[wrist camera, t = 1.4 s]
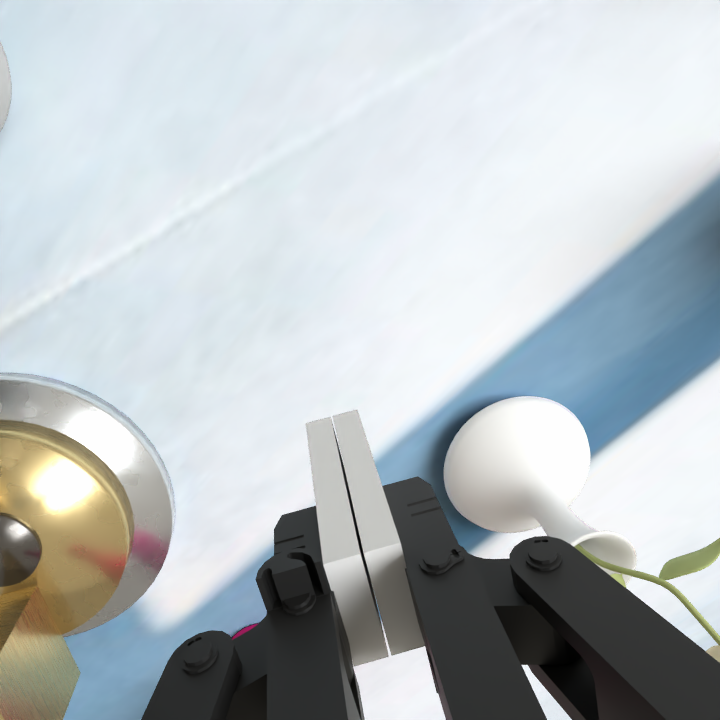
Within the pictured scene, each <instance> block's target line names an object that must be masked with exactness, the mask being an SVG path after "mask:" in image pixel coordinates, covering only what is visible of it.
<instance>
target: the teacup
mask: <svg viewBox="0 0 720 720" xmlns="http://www.w3.org/2000/svg"><path fill="white" fill-rule="evenodd" d="M10 103H11V76H10V70H9V65H8V61H7V57H6V54H5V52H4V49H3V46H2V44H1V42H0V131H1V130H2V128H3V126H4V123H5V121H6V118H7V116H8V112H9V108H10Z"/></svg>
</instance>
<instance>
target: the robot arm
mask: <svg viewBox="0 0 720 720" xmlns="http://www.w3.org/2000/svg"><path fill="white" fill-rule="evenodd" d="M333 420H334V424H335V429H336V433H337V438H338V442H339V446H338V443H337V439H336V435H335V432H334V428H333V424H332V421H331V417H327V418H324V419H320V420H316V421H312V422H309V423H306V429H307V437H308V445H309V453H310V462H311V470H312V478H313V486H314V494H315V502H316V506H314V507H310V508H306V509H303V510H299V511H295V512H292V513H288V514H284V515H282V516H281V518H280V520H279V521H278V523H277V525H276V527H275V529H274V544H275V545H274V556H273V557H271V558H270V559H269V560H267V561H266V562H265V563H264V564H263V565H262V567H261V568H260V569H259V570H258V573H257V577H256V582H257V585H258V587H259V590H260V593H261V596H262V599H263V601H264V604H265V607H266V610H267V615H266V617H265V618H264V619H263V620H262V621H261V622H260V623H259V624H257V625H256V626H255V627H253V628H252V629H250V630H249V631H247V632H245V633H243V634H242V635H240V636H238V637H236V638H234V639H233V640H232V639H231V637H230V636H229V635H228V634H226V633H224V632H223V631H212V630H211V631H207V632H203V633H199V634H197V635H195V636H193V637H192V638H190V639H188V640H186V641H185V642H184V643H183V644H182V645H180V646H179V647H178V648H177V649H176V650H175V651H174V653H173V654H172V656H171V657H170V659H169V660H168V662H167V665H166V667H165V669H164V671H163V673H162V676H161V678H160V680H159V682H158V684H157V686H156V689H155V691H154V693H153V695H152V697H151V699H150V702H149V704H148V706H147V708H146V710H145V712H144V715H143V717H142V719H141V720H364V714H363V708H362V702H361V696H360V691H359V686H358V683H357V679H356V676H355V673H354V669H353V664H354V666H357V665H361V664H364V663H368V662H371V661H375V660H378V659H381V658H385V657H388V651H387V647H386V643H385V638H384V634H383V630H382V625H381V621H380V617H379V612H378V608H377V604H378V607H379V611H380V615H381V618H382V622H383V626H384V629H385V633H386V637H387V640H388V644H389V648H390V651H391V655H395V654H399V653H402V652H406V651H409V650H413V649H416V648H420V647H423V646H425V647H426V651H427V655H428V659H429V663H430V667H431V671H432V675H433V679H434V683H435V687H436V691H437V693H438V694H439V697H440V701H441V704H442V707H443V711H444V714H445V717H446V720H547V718H546V716H545V714H544V712H543V710H542V708H541V706H540V704H539V702H538V699H537V697H536V695H535V693H534V691H533V689H532V687H531V685H530V683H529V680H528V678H527V676H526V674H525V672H524V670H523V668H522V666H521V665H528V666H529V668H530V670H531V671H532V673H533V674H534V675H535V676H536V678H537V679H538V680H539V681H540V682H541V683H542V685H543V686H544V687H545V688H546V689H547V691H548V692H549V693H550V694H551V695H552V696H553V698H554V699H555V700H556V701H557V702H558V703H559V705H560V706H561V707H562V708H563V709H564V711H565V712H566V713H567V714H568V715H569V716H570V718H571V719H572V720H720V663H719V662H718V661H717V660H716V659H714V658H713V657H712V656H711V655H709V654H708V653H707V652H706V651H704V650H703V649H702V648H701V647H699V646H698V645H697V644H696V643H694V642H693V641H692V640H691V639H689V638H688V637H687V636H685V635H684V634H683V633H682V632H680V631H679V630H678V629H677V628H675V627H674V626H673V625H672V624H670V623H669V622H668V621H667V620H665V619H664V618H663V617H662V616H660V615H659V614H658V613H657V612H655V611H654V610H653V609H652V608H650V607H649V606H648V605H646V604H645V603H644V602H643V601H641V600H640V599H639V598H638V597H636V596H635V595H634V594H633V593H631V592H630V591H629V590H628V589H626V588H625V587H624V586H623V585H621V584H620V583H619V582H618V581H616V580H615V579H614V578H613V577H611V576H610V575H609V574H607V573H606V572H605V571H604V570H602V569H601V568H600V567H599V566H597V565H596V564H595V563H594V562H592V561H591V560H590V559H589V558H587V557H586V556H585V555H584V554H582V553H581V552H580V551H579V550H577V549H576V548H575V547H574V546H572V545H571V544H569V543H567V542H566V541H564V540H562V539H559V538H554V537H550V536H541V537H533V538H529V539H526V540H523V541H522V542H520V543H519V544H518V545H516V546H515V547H514V548H513V550H512V552H511V553H510V559H483V558H479V557H475V556H473V555H471V554H468V553H467V551H466V550H465V549H464V548H463V547H461V546H460V545H459V544H458V542H457V540H456V538H455V536H454V534H453V532H452V529H451V527H450V525H449V523H448V521H447V519H446V517H445V515H444V512H443V510H442V509H441V506H440V504H439V502H438V500H437V498H436V495H435V493H434V491H433V489H432V487H431V485H430V484H429V483H427V482H426V481H424V480H422V479H421V478H419V477H414V478H410V479H407V480H403V481H399V482H396V483H392V484H388V485H385V486H382V484H381V481H380V478H379V475H378V472H377V469H376V466H375V463H374V460H373V457H372V453H371V450H370V447H369V444H368V441H367V438H366V435H365V432H364V429H363V426H362V423H361V420H360V417H359V414H358V411H357V410H354V411H350V412H346V413H342V414H339V415H335V416H333ZM339 447H340V450H339ZM340 451H341V454H340ZM341 455H342V457H341ZM342 460H343V461H342ZM343 464H344V465H343ZM373 589H374V590H373ZM374 593H375V595H374ZM375 596H376V599H375ZM376 600H377V604H376ZM352 661H353V663H352Z"/></svg>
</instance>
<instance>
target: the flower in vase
mask: <svg viewBox="0 0 720 720" xmlns="http://www.w3.org/2000/svg"><path fill="white" fill-rule="evenodd" d="M589 468H590V448H589V444H588V440H587V435H586V433H585V430H584V428H583V426H582V425H581V423H580V421H579V420H578V419H577V417H576V416H575V415H574V414H573V413H572V412H571V411H570V410H568V409H567V408H566V407H564V406H563V405H561V404H559V403H557V402H555V401H553V400H550V399H546V398H543V397H535V396H520V397H513V398H509V399H504V400H501V401H499V402H496V403H494V404H492V405H490V406H488V407H486V408H484V409H482V410H481V411H479V412H478V413H476V414H475V415H474V416H473V417H472V418H470V419H469V420H468V421H467V422H466V423H465V424H464V425H463V426H462V428H461V429H460V430H459V432H458V433H457V434H456V436H455V437H454V439H453V441H452V443H451V444H450V447H449V449H448V452H447V455H446V459H445V464H444V483H445V488H446V491H447V494H448V497H449V499H450V501H451V502H452V504H453V505H454V507H455V508H456V509H457V511H458V512H459V513H460V514H462V515H463V516H464V517H465V518H467V519H468V520H469V521H471V522H473V523H475V524H476V525H478V526H480V527H482V528H485V529H488V530H491V531H495V532H502V533H517V532H524V531H528V530H532V529H535V528H537V527H540V526H542V528H543V529H544V531H545V533H546V534H547V536H550V537H554V538H559V539H562V540H564V541H566V542H567V543H569V544H571V545H572V546H574V547H575V548H576V549H577V550H579V551H580V552H581V553H582V554H584V555H585V556H586V557H587V558H589V559H590V560H591V561H592V562H594V563H595V564H596V565H597V566H599V567H600V568H601V569H602V570H604V571H605V572H606V573H607V574H609V575H610V576H611V577H613V578H614V579H615V580H616V581H618V582H619V583H620V584H621V585H623V586H624V587H625V588H626V585H627V584H628V582H629V581H630V580H631V578H632V576H633V577H637V578H641V579H644V580H647V581H651V582H653V583H656V584H658V585H661V586H663V587H664V588H666V589H668V590H669V591H670V592H672V593H673V594H674V595H675V596H676V597H677V598H678V599H679V600H680V601H681V602H682V603H683V604H684V605H685V607H686V608H687V609H688V610H689V611H690V612H691V613H692V615H693V616H694V617H695V618H696V619H697V620H698V622H699V623H700V624H701V625H702V626H703V627H704V628H705V630H706V631H707V632H708V633H709V634H710V635H711V636H712V638H713V639H714V640H715V641H716V642H717V643H718V645H719V646H718V645H717V646H713V647H711V648H709V649H708V650H707V651H706V652H707V653H708V654H709V655H711V656H712V657H713V658H714V659H716V660H717V661H718V662H719V663H720V636H719V635H718V634H717V633H716V631H715V630H714V629H713V628H712V627H711V626H710V625H709V623H708V622H707V621H706V620H705V619H704V618H703V617H702V615H701V614H700V613H699V612H698V611H697V610H696V609H695V607H694V606H693V605H692V604H691V603H690V602H689V601H688V600H687V598H686V597H685V596H684V595H683V594H682V593H681V592H680V591H679V590H678V589H676V588H675V587H674V586H673V585H671V584H670V583H668V582H666V581H665V580H669V579H673V578H676V577H680V576H683V575H687V574H690V573H694V572H697V571H700V570H702V569H704V568H706V567H708V566H709V565H711V564H712V563H713V562H714V561H715V560H716V559H717V558H718V556H719V554H720V538H719V539H717V540H716V541H715V542H713V543H712V544H710V545H708V546H707V547H705V548H703V549H700V550H698V551H695V552H692V553H689V554H686V555H683V556H679V557H676V558H674V559H671V560H669V561H668V562H666V563H665V565H664V566H663V568H662V570H661V572H660V575H659V578H658V577H655V576H653V575H649V574H646V573H643V572H639V571H635V568H636V562H637V558H636V552H635V549H634V547H633V545H632V544H631V542H630V541H629V540H628V539H626V538H625V537H624V536H622V535H620V534H617V533H615V532H611V531H598V530H595V529H593V528H592V527H590V526H589V525H588V524H586V523H585V522H584V521H583V520H582V519H580V518H579V517H578V516H577V515H576V514H575V513H574V512H573V510H572V509H571V508H570V507H569V506H570V505H571V504H572V503H573V502H574V501H575V499H576V498H577V497H578V495H579V493H580V492H581V490H582V488H583V486H584V484H585V482H586V479H587V476H588V473H589Z"/></svg>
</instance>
